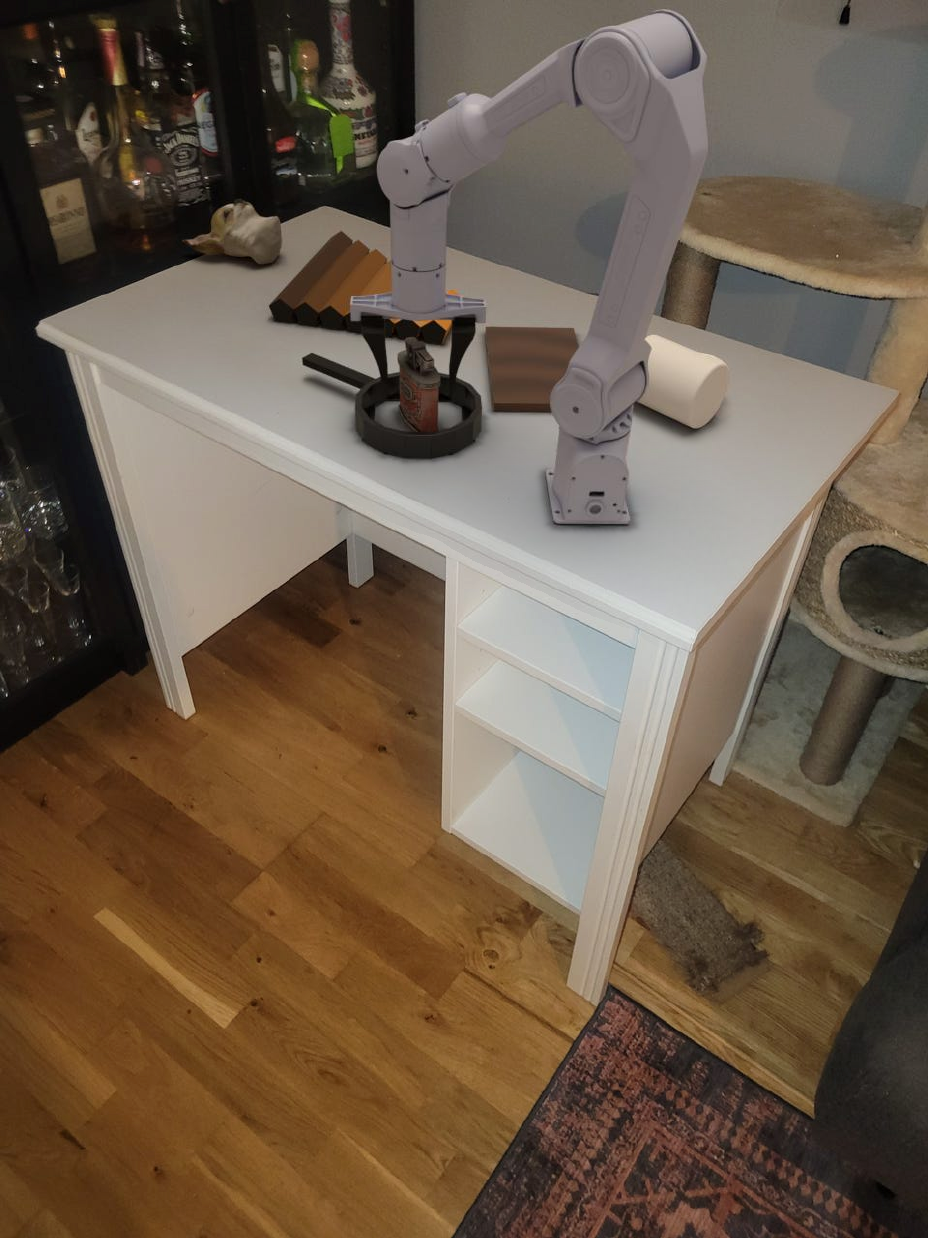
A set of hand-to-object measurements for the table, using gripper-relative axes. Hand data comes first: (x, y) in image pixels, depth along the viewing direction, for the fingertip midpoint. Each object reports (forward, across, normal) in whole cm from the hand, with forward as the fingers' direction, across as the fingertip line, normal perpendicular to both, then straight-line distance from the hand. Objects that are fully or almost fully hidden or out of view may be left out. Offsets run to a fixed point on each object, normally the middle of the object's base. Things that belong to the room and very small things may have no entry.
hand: (418, 378), depth 108 cm
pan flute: (+6, +5, -35) cm, 36 cm away
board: (+6, -15, -13) cm, 21 cm away
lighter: (+6, 0, 0) cm, 6 cm away
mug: (+6, -32, -5) cm, 33 cm away
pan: (+6, +4, -2) cm, 7 cm away
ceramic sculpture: (+6, +27, -48) cm, 55 cm away
